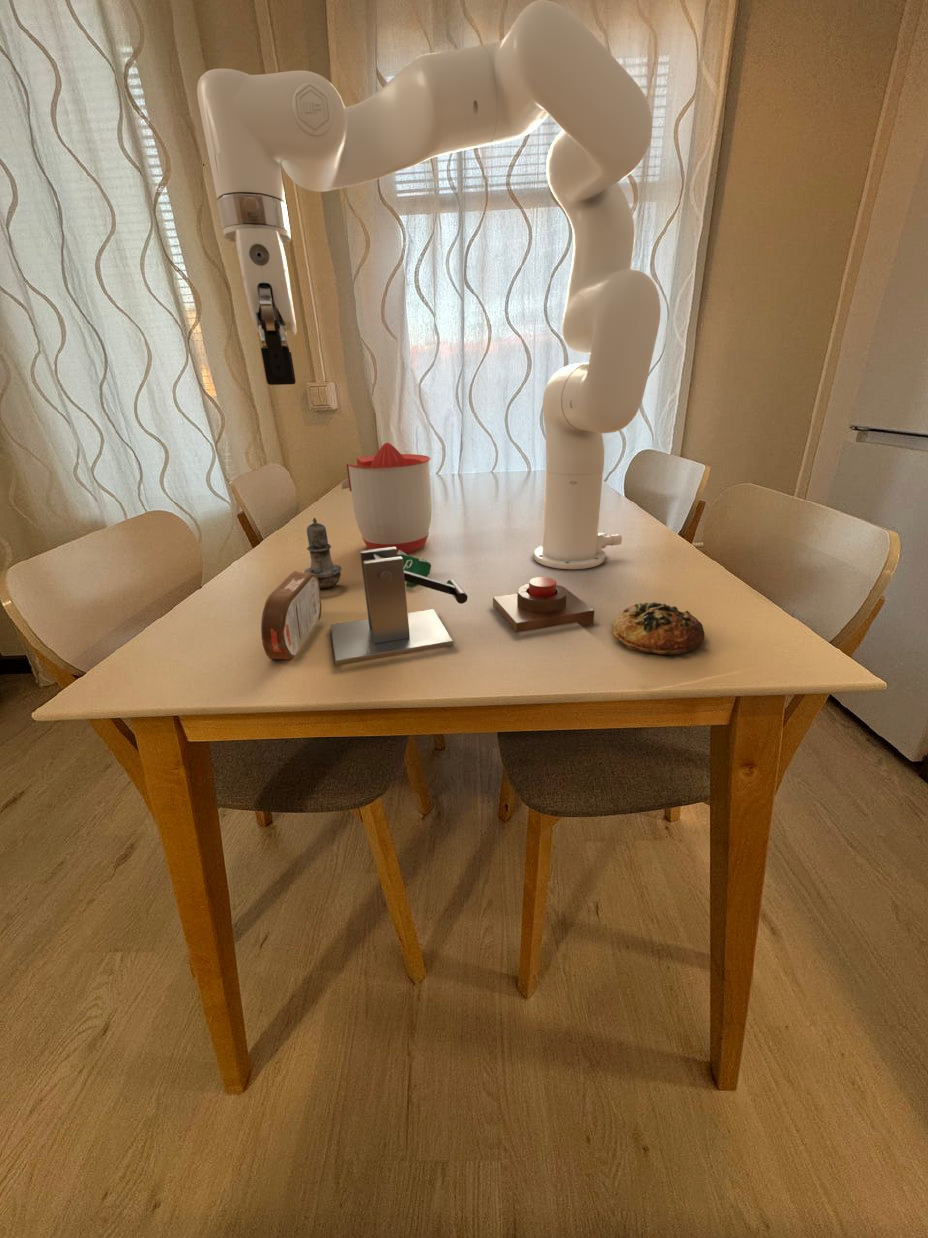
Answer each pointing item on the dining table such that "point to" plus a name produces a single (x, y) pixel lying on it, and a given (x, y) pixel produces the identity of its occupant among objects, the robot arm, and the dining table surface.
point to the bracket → (386, 616)
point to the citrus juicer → (391, 499)
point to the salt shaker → (321, 557)
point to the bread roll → (658, 629)
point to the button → (542, 587)
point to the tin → (290, 615)
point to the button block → (542, 609)
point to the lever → (434, 584)
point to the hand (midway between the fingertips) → (282, 384)
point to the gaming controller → (415, 565)
